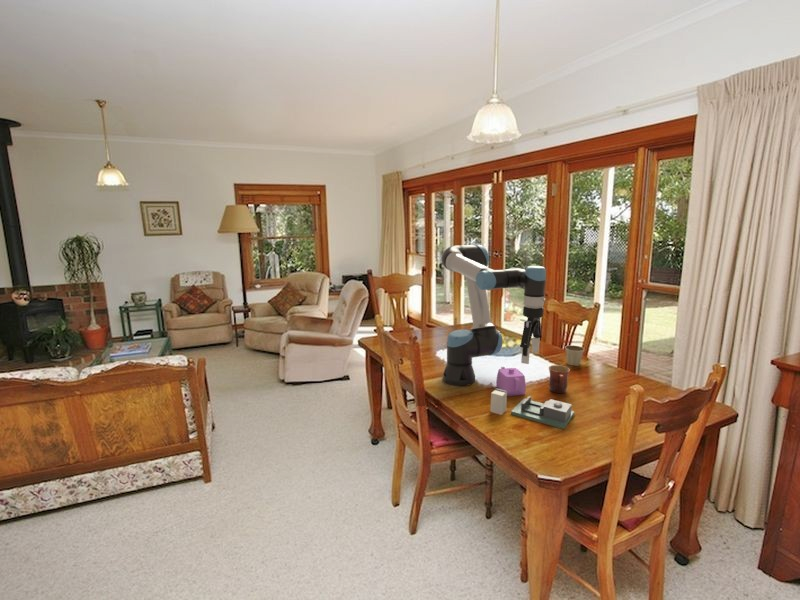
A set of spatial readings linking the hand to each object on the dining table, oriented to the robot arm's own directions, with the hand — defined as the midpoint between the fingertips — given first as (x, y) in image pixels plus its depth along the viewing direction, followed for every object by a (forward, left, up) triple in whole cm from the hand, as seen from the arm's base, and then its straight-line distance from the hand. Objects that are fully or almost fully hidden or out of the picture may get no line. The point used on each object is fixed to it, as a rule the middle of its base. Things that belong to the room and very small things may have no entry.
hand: (530, 358), depth 164 cm
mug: (+7, +20, -20) cm, 29 cm away
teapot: (-11, +10, -21) cm, 26 cm away
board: (+8, -4, -20) cm, 22 cm away
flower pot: (+3, +60, -20) cm, 64 cm away
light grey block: (-7, -12, -20) cm, 25 cm away
